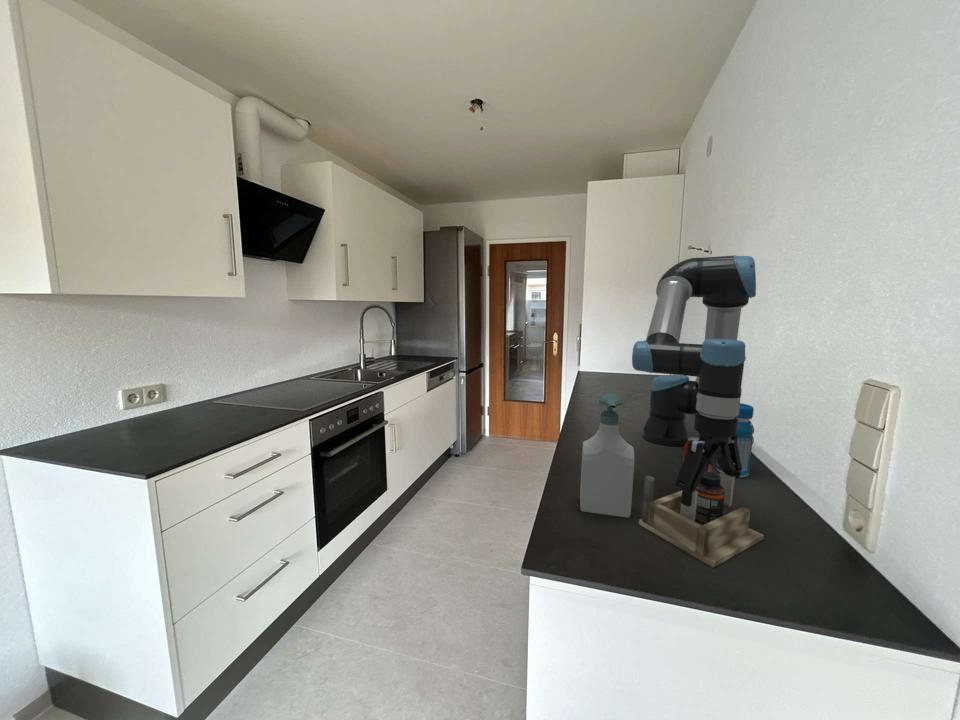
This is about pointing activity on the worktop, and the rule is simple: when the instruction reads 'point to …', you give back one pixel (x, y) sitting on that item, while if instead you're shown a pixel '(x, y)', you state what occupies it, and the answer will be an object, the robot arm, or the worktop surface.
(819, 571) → the worktop surface
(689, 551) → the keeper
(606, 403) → the soap bottle
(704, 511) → the supplement bottle
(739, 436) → the beverage bottle
